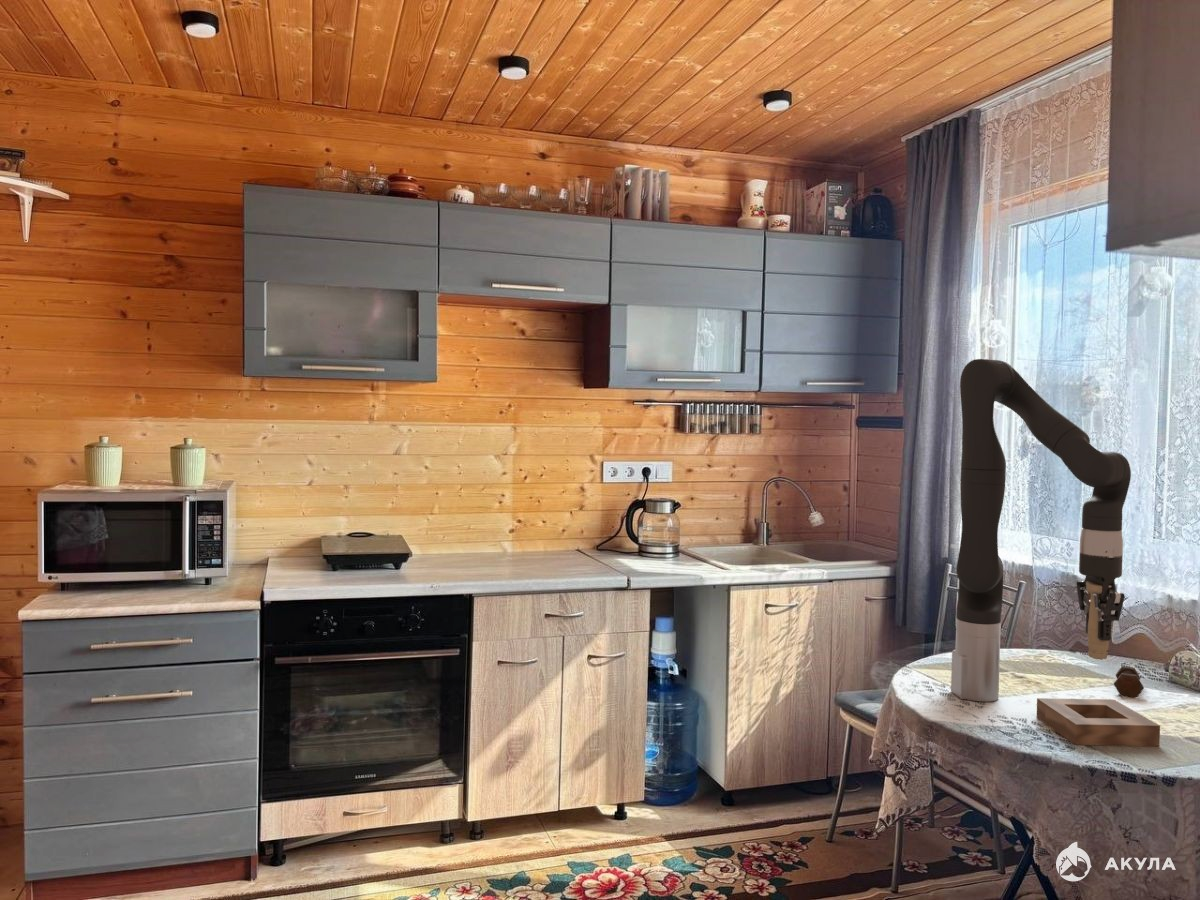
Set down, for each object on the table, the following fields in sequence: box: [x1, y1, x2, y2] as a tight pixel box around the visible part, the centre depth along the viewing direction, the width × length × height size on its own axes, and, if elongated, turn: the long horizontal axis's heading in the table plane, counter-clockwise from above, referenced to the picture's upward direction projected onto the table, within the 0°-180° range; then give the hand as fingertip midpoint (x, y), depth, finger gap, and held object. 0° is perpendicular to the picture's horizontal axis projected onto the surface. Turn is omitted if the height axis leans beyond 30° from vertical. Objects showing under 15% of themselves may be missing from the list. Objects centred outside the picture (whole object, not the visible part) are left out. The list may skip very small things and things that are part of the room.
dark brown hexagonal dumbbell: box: [1113, 665, 1144, 699], centre depth 212 cm, size 6×5×15 cm
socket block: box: [1036, 697, 1161, 747], centre depth 183 cm, size 16×16×4 cm
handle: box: [1086, 581, 1110, 661], centre depth 182 cm, size 5×6×15 cm
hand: (1098, 636), depth 182 cm, fingers closed on handle, 4 cm apart
